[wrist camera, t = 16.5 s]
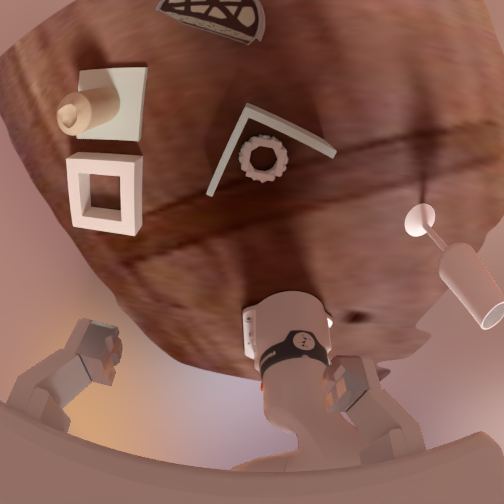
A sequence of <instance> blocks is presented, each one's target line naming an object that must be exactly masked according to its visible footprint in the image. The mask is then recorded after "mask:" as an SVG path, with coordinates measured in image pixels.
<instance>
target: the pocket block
mask: <svg viewBox="0 0 504 504" xmlns="http://www.w3.org/2000/svg"><path fill="white" fill-rule="evenodd" d="M66 163H67V178H68V189H69V199H70V208H71V216H72V223H73V227H80V228H86V229H93V230H99V231H106V232H112V233H119V234H125V235H132V236H135V235H136V234H137V232H138V231H139V229H140V228H141V226H142V169H143V156H138V155H125V154H110V153H91V152H77V153H75V154H73V155H71V156H70V157H68V158H66ZM89 174H100V175H112V176H120V194H121V210H113V209H106V208H98V207H91V195H90V178H89Z"/></svg>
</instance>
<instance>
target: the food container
mask: <svg viewBox="0 0 504 504" xmlns="http://www.w3.org/2000/svg"><path fill="white" fill-rule="evenodd" d="M155 10H156V11H161V12H163V13H164V14H166V15H168V16H170V17H172V18H173V19H175V20H177V21H179V22H180V23H182V24H184V25H187V26H190V27H194V28H198V29H201V30H205V31H208V32H211V33H214V34H218V35H221V36H224V37H227V38H230V39H233V40H235V41H238V42H241V43H244V44H246V45H250V44H251V43H252V42H253V41H254V40H255V39H258V40H259V41H260V42H261V40H262V37H263V35H264V30H265V13H264V10H263V7H262V4H261V3H260V1H259V0H161V1H160V2H159V3H158V5H157V7H156V8H155Z"/></svg>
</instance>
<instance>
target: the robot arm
mask: <svg viewBox="0 0 504 504" xmlns="http://www.w3.org/2000/svg"><path fill="white" fill-rule="evenodd" d="M242 316H243V333H244V349H245V355H246V356H248V357H250V358H252V359H254V368H255V369H256V370H258V371H259V372H260V376H261V379H262V383H261V391H263V398H264V414H265V417H266V418H267V420H268V421H269V422H270V424H271V425H272V426H274V427H275V428H277V429H279V430H282V431H285V432H289V433H293V434H296V436H297V439H298V448H297V449H296V450H294V451H290V452H286V453H281V454H276V455H271V456H265V457H259V458H256V459H253V460H251V461H248V462H245V463H243V464H240V465H238V466H235V467H233V468H232V469H231V470H219V469H210V468H201V467H194V466H187V465H180V464H175V463H169V462H164V461H159V460H154V459H149V458H145V457H141V456H137V455H132V454H129V453H125V452H122V451H117V450H115V449H111V448H108V447H105V446H101V445H98V444H95V443H92V442H89V441H87V440H84V439H81V438H78V437H76V436H73V435H71V434H68V433H67V432H68V429H69V425H70V422H71V421H70V418H69V417H68V416H67V415H66V413H65V412H64V411H63V410H62V408H64V407H65V406H66V405H67V404H68V403H69V402H70V401H71V400H73V399H74V398H75V397H76V396H77V395H78V394H79V393H80V392H82V391H83V390H84V389H85V388H86V387H87V386H88V385H89V384H91V381H93V382H97V383H101V384H104V385H108V386H112V383H113V380H114V377H115V373H116V371H115V369H114V366H115V365H117V364H118V363H119V362H120V359H121V353H122V342H121V340H120V339H119V338H118V335H119V330H118V327H115V326H111V325H108V324H104V323H100V322H96V321H93V320H89V319H86V318H81V319H79V320H78V322H77V324H76V326H75V328H74V330H73V332H72V334H71V335H70V338H69V339H68V342H67V343H66V345H65V348H64V350H63V349H59V350H58V351H56V352H55V353H53V354H52V355H50V356H49V357H47V358H46V359H44V360H42V361H41V362H39V363H38V364H36V365H35V366H33V367H32V368H30V369H29V370H27V371H26V372H24V373H23V374H21V375H20V376H18V378H17V380H16V382H15V384H14V387H13V389H12V391H11V393H10V396H9V398H8V400H7V403H6V404H5V403H4V402H2V401H0V504H504V456H503V452H502V450H501V448H500V446H499V445H498V444H497V443H496V442H495V441H494V440H493V439H492V438H491V437H490V436H489V435H487V434H486V433H485V432H481V431H480V432H477V433H474V434H471V435H469V436H466V437H464V438H461V439H458V440H456V441H453V442H450V443H447V444H444V445H441V446H438V447H435V448H432V449H429V450H426V447H425V444H424V440H423V436H422V432H421V429H420V426H419V423H418V422H417V421H416V420H415V419H414V418H413V417H412V416H411V415H409V413H408V412H407V411H406V410H405V409H404V408H403V407H402V406H401V405H400V404H399V403H398V402H396V400H395V399H394V398H392V397H391V395H390V394H389V393H388V392H387V391H385V390H384V389H383V390H382V389H381V386H380V382H379V379H378V376H377V372H376V369H375V366H374V363H373V359H372V358H371V356H348V355H336V356H334V357H333V358H332V360H331V363H332V364H331V365H330V366H329V358H328V355H327V354H328V352H329V351H330V350H331V340H330V332H329V328H330V327H331V326H332V324H333V320H332V317H331V316H330V315H328V314H327V313H326V312H325V310H324V307H323V305H322V303H321V302H320V301H319V300H318V299H317V298H316V297H314V296H313V295H311V294H308V293H305V292H300V291H286V292H280V293H277V294H274V295H271V296H269V297H267V298H266V299H264V300H263V301H261V302H260V303H259V304H257V305H254V306H250V307H247V308H245V309H244V310H243V311H242ZM248 317H249V318H248ZM340 412H346V414H347V415H348V417H349V418H350V419H351V421H352V422H353V423H354V425H355V426H356V427H355V426H354V425H352V424H351V423H349V422H348V421H347V420H346V419H345V418H344V417H343V416H342V414H341V413H340Z"/></svg>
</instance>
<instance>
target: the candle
mask: <svg viewBox="0 0 504 504" xmlns="http://www.w3.org/2000/svg"><path fill="white" fill-rule="evenodd" d="M119 109H120V98H119V95H118V94H117V92H116V91H115V90H113V89H112V88H108V87H102V88H95V89H89V90H84V91H78V92H73V93H70V94H68V95H66V96H65V97H64V98H63V99H62V100H61V102H60V104H59V106H58V109H57V122H58V125H59V127H60V128H61V130H62V131H63V132H64V133H66V134H68V135H78V134H81V133H83V132H85V131H87V130H90V129H92V128H94V127H97V126H99V125H102V124H104V123H107V122H109V121H111V120H112V119H113V118H114V117H115V116H116V115H117V113H118V112H119Z"/></svg>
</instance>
